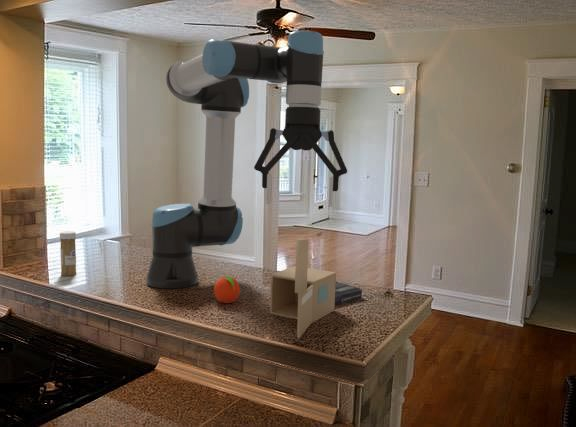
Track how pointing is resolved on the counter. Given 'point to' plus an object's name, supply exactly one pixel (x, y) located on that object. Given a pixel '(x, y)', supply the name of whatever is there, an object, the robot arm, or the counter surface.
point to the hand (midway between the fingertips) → (299, 204)
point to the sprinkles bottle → (68, 253)
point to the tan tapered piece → (303, 287)
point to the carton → (287, 299)
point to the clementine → (226, 289)
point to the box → (346, 293)
